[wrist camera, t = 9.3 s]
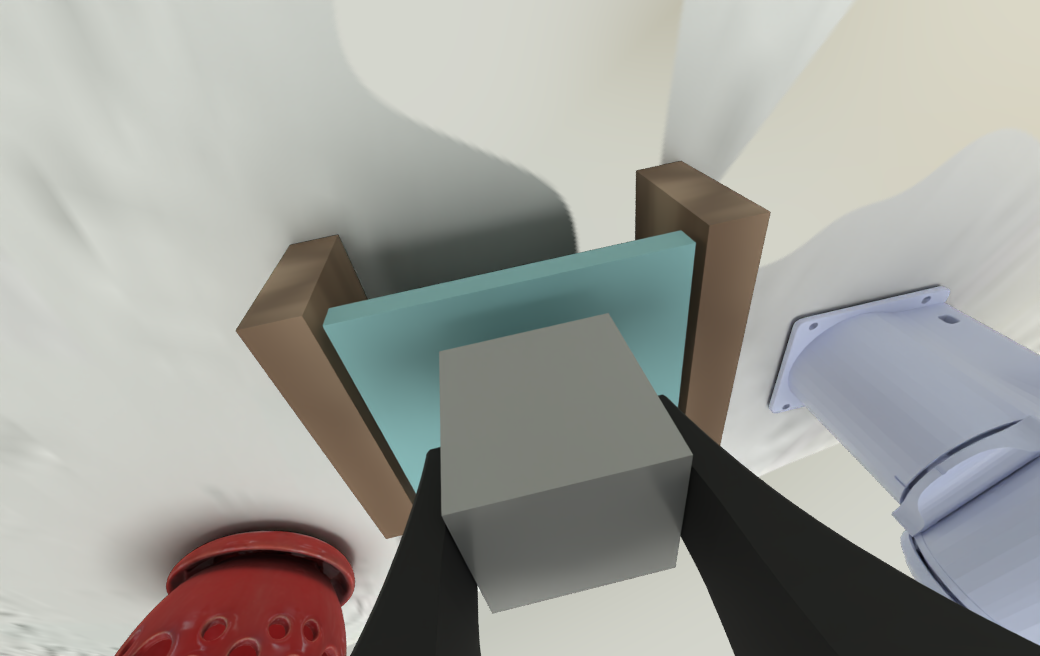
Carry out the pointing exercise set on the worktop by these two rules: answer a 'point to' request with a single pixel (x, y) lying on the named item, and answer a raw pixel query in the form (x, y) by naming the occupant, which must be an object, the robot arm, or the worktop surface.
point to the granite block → (558, 463)
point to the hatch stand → (333, 282)
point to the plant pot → (251, 600)
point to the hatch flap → (510, 327)
